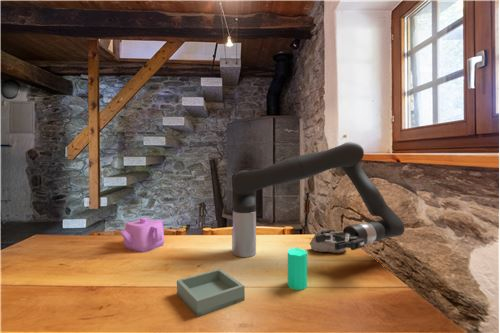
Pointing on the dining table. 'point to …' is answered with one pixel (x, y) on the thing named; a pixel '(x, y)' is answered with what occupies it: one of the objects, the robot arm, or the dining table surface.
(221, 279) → the tray
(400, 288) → the dining table surface
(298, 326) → the dining table surface
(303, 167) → the robot arm
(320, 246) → the pumice stone
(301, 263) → the candle
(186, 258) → the dining table surface
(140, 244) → the teakettle
